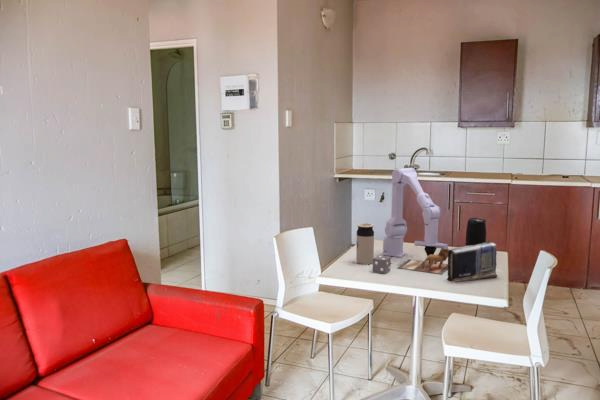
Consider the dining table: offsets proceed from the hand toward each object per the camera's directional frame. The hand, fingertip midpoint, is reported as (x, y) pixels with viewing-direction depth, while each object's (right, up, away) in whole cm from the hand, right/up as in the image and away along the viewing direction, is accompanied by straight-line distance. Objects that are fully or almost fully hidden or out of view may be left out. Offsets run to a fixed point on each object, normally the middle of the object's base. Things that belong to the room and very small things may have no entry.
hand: (430, 262), depth 226 cm
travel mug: (-28, -1, +10) cm, 30 cm away
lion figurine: (0, -1, -1) cm, 2 cm away
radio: (+13, -5, -16) cm, 21 cm away
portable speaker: (+25, 0, +14) cm, 29 cm away
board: (-2, -2, +2) cm, 3 cm away
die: (-23, -3, -5) cm, 23 cm away
